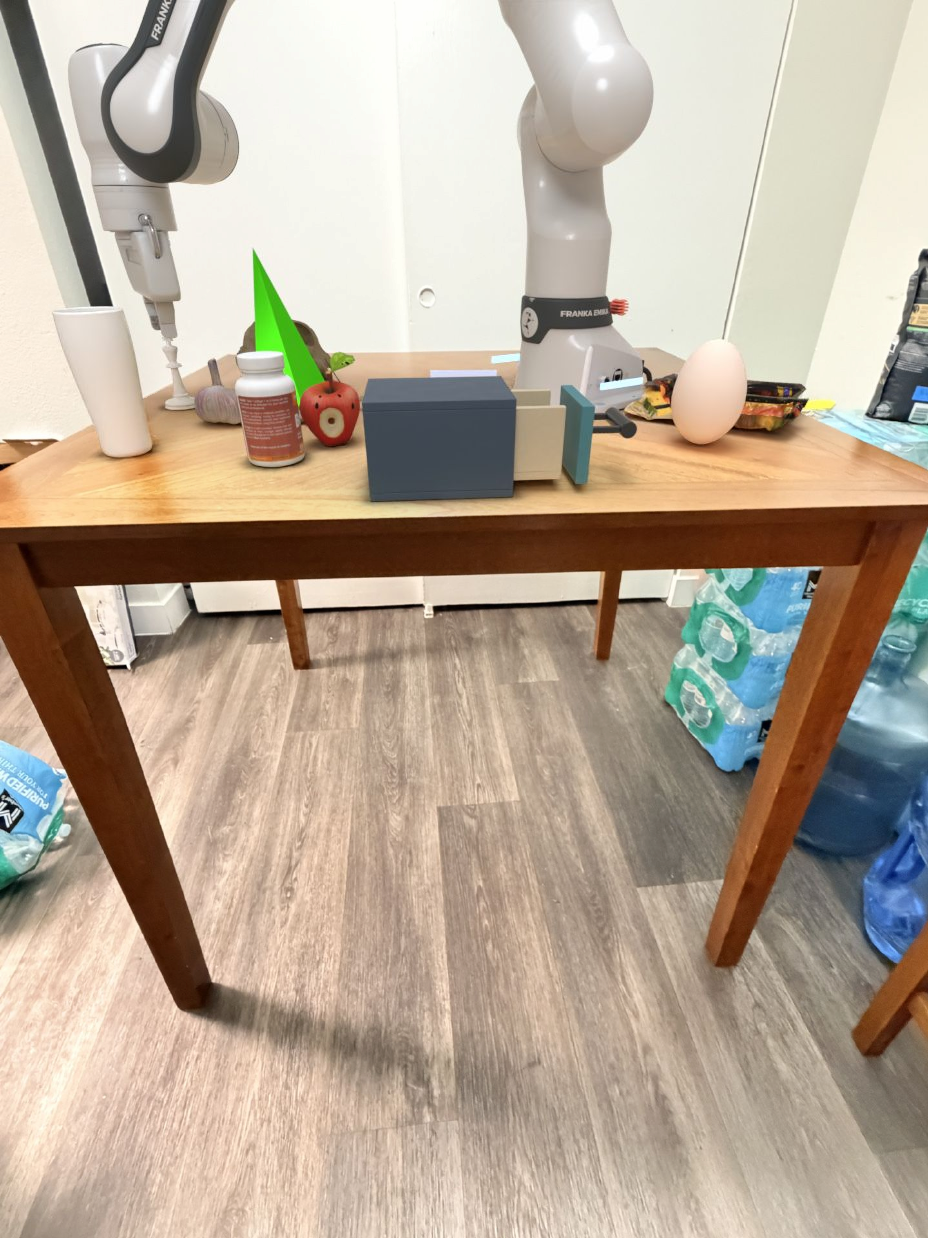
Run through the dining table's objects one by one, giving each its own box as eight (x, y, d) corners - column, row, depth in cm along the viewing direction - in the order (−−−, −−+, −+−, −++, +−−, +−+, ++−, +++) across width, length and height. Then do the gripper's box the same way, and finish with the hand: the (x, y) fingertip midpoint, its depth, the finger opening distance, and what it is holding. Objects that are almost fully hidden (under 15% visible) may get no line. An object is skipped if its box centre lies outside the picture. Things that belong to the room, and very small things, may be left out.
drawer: (609, 453, 69) (617, 383, 65) (636, 482, 61) (647, 404, 57) (452, 457, 68) (451, 387, 64) (458, 487, 60) (457, 409, 56)
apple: (347, 454, 72) (337, 361, 66) (294, 449, 73) (280, 358, 68) (374, 436, 78) (367, 350, 73) (325, 432, 80) (314, 348, 74)
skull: (317, 383, 91) (287, 283, 88) (221, 415, 99) (189, 325, 95) (370, 381, 106) (346, 296, 103) (284, 410, 114) (259, 331, 110)
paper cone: (208, 265, 86) (257, 436, 84) (209, 236, 81) (260, 418, 79) (290, 265, 90) (337, 427, 89) (295, 238, 85) (345, 410, 84)
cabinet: (499, 462, 69) (501, 375, 64) (512, 497, 60) (516, 398, 55) (375, 466, 68) (368, 378, 63) (370, 501, 59) (361, 402, 54)
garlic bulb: (189, 421, 84) (174, 357, 80) (240, 412, 88) (229, 351, 84) (211, 432, 79) (196, 365, 75) (265, 422, 83) (254, 358, 79)
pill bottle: (314, 462, 69) (299, 355, 63) (259, 472, 66) (239, 361, 61) (294, 448, 74) (278, 347, 68) (241, 457, 71) (221, 352, 65)
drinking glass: (83, 457, 71) (34, 311, 63) (130, 441, 77) (91, 305, 69) (127, 463, 69) (83, 313, 61) (173, 447, 74) (138, 307, 67)
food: (660, 371, 95) (657, 395, 97) (614, 393, 82) (611, 421, 84) (820, 384, 85) (812, 411, 87) (796, 413, 72) (788, 444, 74)
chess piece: (179, 411, 90) (161, 335, 84) (158, 407, 92) (139, 333, 86) (208, 404, 93) (192, 331, 88) (186, 400, 95) (170, 329, 90)
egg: (653, 445, 74) (670, 340, 68) (679, 430, 79) (696, 332, 73) (722, 457, 70) (746, 346, 64) (743, 441, 75) (767, 337, 69)
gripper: (178, 214, 74) (203, 341, 81) (153, 217, 89) (176, 324, 96) (119, 213, 71) (150, 344, 78) (103, 216, 86) (131, 326, 93)
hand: (164, 333), depth 87 cm, fingers open, 8 cm apart
